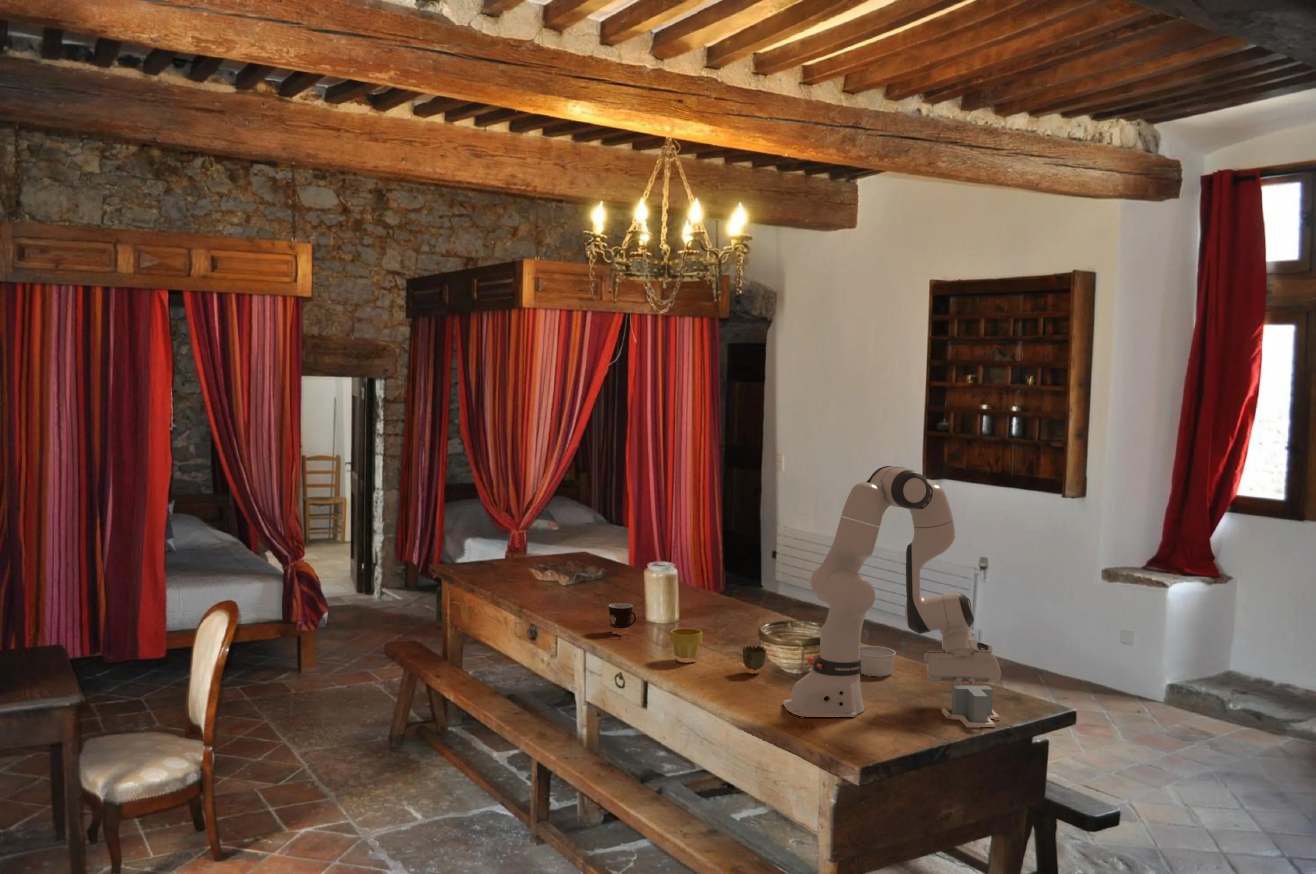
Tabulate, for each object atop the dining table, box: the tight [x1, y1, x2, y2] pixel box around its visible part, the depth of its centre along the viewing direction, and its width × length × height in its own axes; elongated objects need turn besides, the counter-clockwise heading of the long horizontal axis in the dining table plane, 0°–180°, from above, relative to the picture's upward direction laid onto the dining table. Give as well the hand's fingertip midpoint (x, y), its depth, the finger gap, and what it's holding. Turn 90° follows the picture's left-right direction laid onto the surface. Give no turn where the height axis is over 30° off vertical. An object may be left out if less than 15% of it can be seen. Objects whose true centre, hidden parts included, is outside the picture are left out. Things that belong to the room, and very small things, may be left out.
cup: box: [742, 645, 767, 670], centre depth 334 cm, size 8×7×8 cm
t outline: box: [941, 708, 1001, 728], centre depth 292 cm, size 14×13×1 cm
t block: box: [951, 684, 993, 723], centre depth 292 cm, size 10×10×8 cm
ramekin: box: [860, 645, 897, 678], centre depth 338 cm, size 13×13×7 cm
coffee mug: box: [608, 602, 637, 628], centre depth 382 cm, size 12×9×10 cm
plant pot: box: [669, 627, 703, 658], centre depth 347 cm, size 10×10×10 cm
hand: (967, 694), depth 298 cm, fingers closed
